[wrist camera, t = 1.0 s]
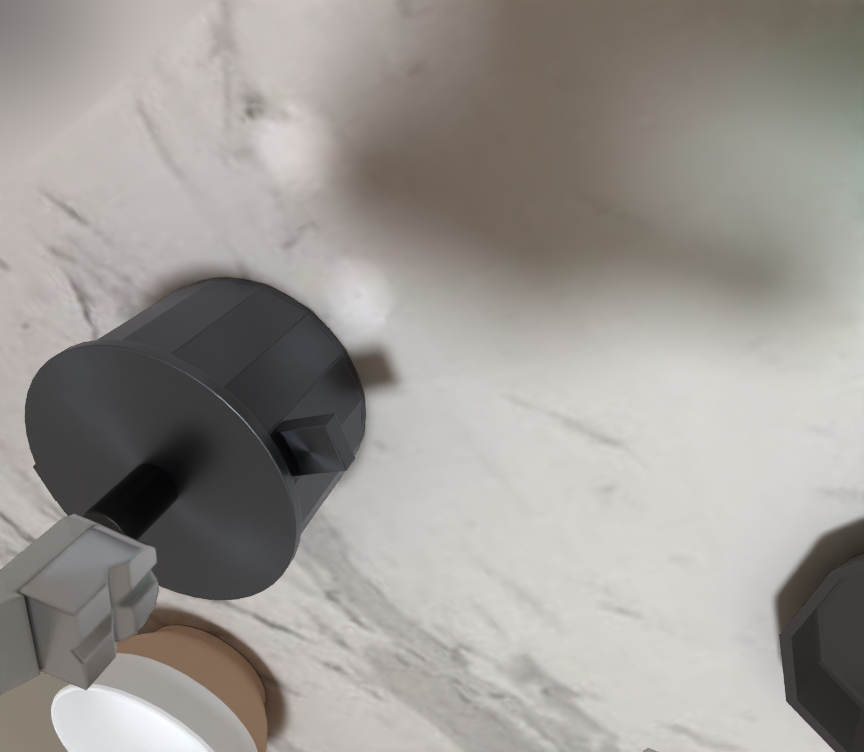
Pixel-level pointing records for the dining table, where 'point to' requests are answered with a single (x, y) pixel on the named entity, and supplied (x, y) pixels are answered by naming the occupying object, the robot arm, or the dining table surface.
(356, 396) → the pot
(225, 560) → the pot lid
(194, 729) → the bowl
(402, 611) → the dining table surface
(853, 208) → the dining table surface
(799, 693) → the frying pan
